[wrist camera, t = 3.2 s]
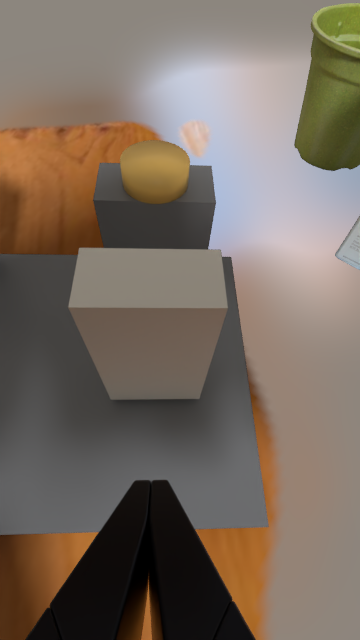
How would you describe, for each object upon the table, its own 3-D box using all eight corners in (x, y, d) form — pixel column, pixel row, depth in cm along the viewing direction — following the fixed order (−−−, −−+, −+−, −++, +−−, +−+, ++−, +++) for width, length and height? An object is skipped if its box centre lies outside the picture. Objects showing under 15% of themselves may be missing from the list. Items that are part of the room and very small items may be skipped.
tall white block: (199, 398, 15) (227, 308, 8) (110, 399, 14) (68, 307, 8) (197, 358, 16) (220, 249, 9) (114, 358, 15) (79, 247, 9)
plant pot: (364, 200, 26) (447, 72, 18) (257, 158, 28) (292, 29, 20) (392, 146, 30) (467, 24, 22) (297, 114, 32) (337, -7, 25)
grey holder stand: (258, 525, 14) (364, 540, 7) (-208, 539, 13) (-689, 574, 6) (226, 270, 21) (260, 143, 14) (-73, 267, 20) (-206, 129, 13)
